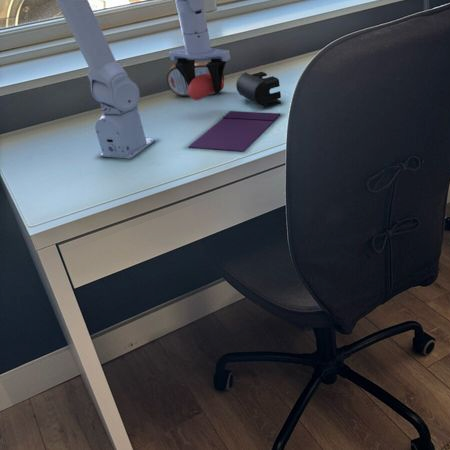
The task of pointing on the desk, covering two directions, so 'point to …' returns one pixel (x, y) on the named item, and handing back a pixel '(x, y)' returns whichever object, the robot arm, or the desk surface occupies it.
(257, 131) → the cloth
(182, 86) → the tin
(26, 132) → the desk surface
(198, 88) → the red oval piece
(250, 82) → the end cap
